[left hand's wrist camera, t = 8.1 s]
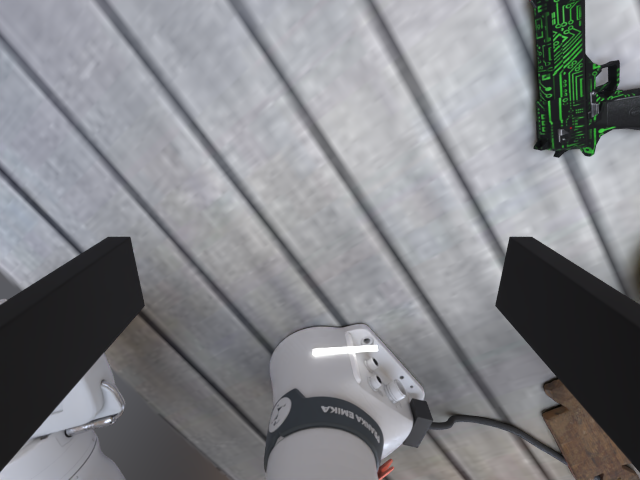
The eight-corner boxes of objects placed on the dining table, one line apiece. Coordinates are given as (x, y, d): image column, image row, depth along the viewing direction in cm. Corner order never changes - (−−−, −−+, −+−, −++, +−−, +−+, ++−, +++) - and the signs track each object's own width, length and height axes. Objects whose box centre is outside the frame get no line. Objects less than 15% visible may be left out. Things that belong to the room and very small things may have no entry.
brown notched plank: (580, 491, 58) (641, 468, 56) (587, 502, 57) (651, 479, 55) (528, 389, 50) (598, 359, 48) (535, 399, 48) (607, 368, 47)
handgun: (686, 141, 35) (535, 170, 36) (658, 139, 38) (519, 166, 38) (718, -54, 30) (539, -17, 30) (683, -40, 32) (520, -6, 33)
